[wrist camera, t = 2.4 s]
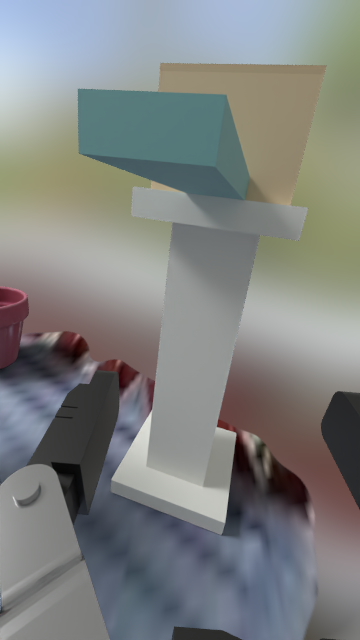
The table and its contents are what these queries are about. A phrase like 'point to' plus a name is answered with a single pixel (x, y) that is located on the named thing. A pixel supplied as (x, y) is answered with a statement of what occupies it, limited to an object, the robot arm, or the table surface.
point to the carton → (208, 128)
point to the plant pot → (11, 323)
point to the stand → (197, 350)
